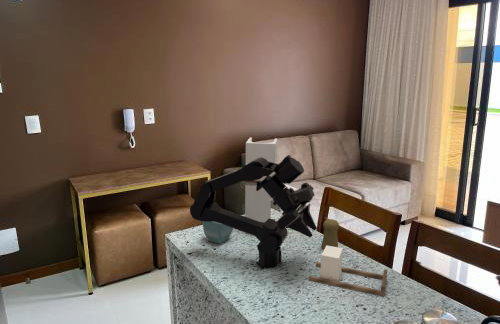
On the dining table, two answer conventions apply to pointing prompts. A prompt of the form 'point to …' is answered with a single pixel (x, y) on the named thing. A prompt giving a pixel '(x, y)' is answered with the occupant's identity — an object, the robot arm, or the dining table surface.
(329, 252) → the cream block
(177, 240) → the dining table surface
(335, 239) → the olive bell shape
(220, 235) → the flower pot
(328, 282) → the board
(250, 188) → the tall white pillar
